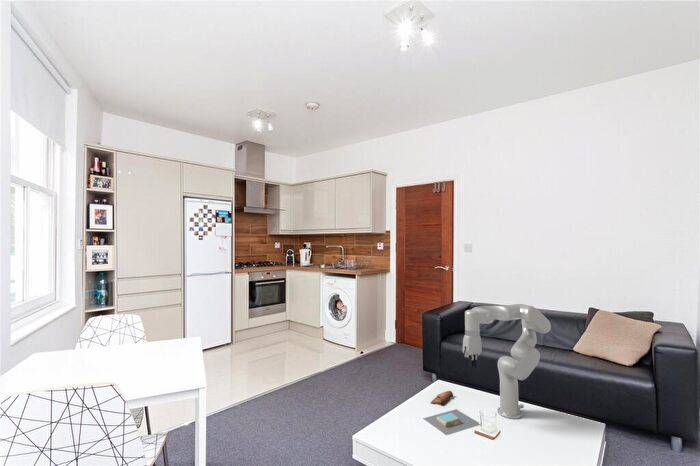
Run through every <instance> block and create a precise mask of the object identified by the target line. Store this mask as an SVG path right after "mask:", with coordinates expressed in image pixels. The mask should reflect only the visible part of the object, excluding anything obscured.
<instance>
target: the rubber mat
mask: <svg viewBox="0 0 700 466" xmlns="http://www.w3.org/2000/svg"><path fill="white" fill-rule="evenodd" d="M449 413H452V414H454V415H455V416H457V417H458V418H460V423H459V424H456V425H452V426H449V427H444V426H443V425H441V424H440V423H438V422H437V417H438V416H442V415H445V414H449ZM422 419H423V420H424V421H425V422H427V423H429V424H430V425H432V427H434V428H436V430H439V431H440V432H441V433H443V435H445V436H448V435H452V434H454V433H458V432H462V431H464V430H468V429H471V428H475V427H477V426H480V425H479V423H480V422H478V421H477V420H475V419H473V418H472V417H470V416H468V415H467V414H466V413H464V412H461V411H460V410H459V409H457V408H456V409H453V410H448V411H445V412H442V413H438V414H434V415H430V416H427V417H422Z"/></svg>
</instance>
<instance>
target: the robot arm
mask: <svg viewBox="0 0 700 466" xmlns="http://www.w3.org/2000/svg"><path fill="white" fill-rule="evenodd" d="M496 320H497V321H502V322H503V321H504V322H507V321H516V320H521V327H522V332H521V335H520V337H519V338H518V339H517V340H516V342H515V343H514V344H513V345H512V347H511V349H510V355H511V356H512V357H510V356H508V355H503V356H501V357H499V358H498V360H497V370H498V375H499V405H500V406H499V407H498V408H497V414H498V415H499V416H502V417H504V418H507V419H510V420H511V419H512V420H513V419H514V420H515V419H517V420H518V419H521V418H522V417H523V413H522V412H521V409H524V408H525V405H524V404H523V403H522V404H519V403H520V402H519V382H518V380H519V381H524V380H526V379H527V378H528V377H529V376H530V375H531V374H532V372H533V371H534V370H535V368H536V367H537V366H538V364H539V362H540V359H541V353H540V352H539V350H538V349H537V348H535V346H536V345H537V342H538V340H537V338H538V337H537V334H536V333H540V334H548V333H549V332H550V331H551V328H552V326H551V322H550V320H549V319H548V318H547V317H546V316H545V315H544V314H543V313H542V312H541V311H540V310H539V309H538V308H536V307H535V306H532V305H528V304H525V303H524V304H523V303H516V304H514V303H513V304H505V305H482V306H475V307H472V309H467V310H465V311H464V335H463V339H462V354H464V358H467V359H468V360H469V367H470V368H473V369H474V368H477V360H478V356H480V355H481V353H482V351H483V348H482V347H483V346H482V345H483V344H482V338H481V335H480V332H481V330H480V325H481V324H485V325H489V324H492V323H493V322H494V321H496Z"/></svg>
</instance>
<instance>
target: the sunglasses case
mask: <svg viewBox="0 0 700 466" xmlns="http://www.w3.org/2000/svg"><path fill="white" fill-rule="evenodd" d="M453 396H454V393H453V391H451V390H446V391H443V392H441V393H439V394H437V396H436V397H435V398H433V399H432V400H431V401H430V404H431V405H439V406H442V407H443V406H445V405H446V404H447V402H448V401H449V400H450V399H451V398H452V397H453Z"/></svg>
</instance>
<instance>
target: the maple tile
mask: <svg viewBox="0 0 700 466" xmlns="http://www.w3.org/2000/svg"><path fill="white" fill-rule="evenodd" d="M437 422H438V423H440V424H441V425H443V426H444V427H449V426H452V425H456V424H459V423H460V418H458V417H457V416H455V415H454V414H452V413H449V414H445V415H442V416H438V417H437Z"/></svg>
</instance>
